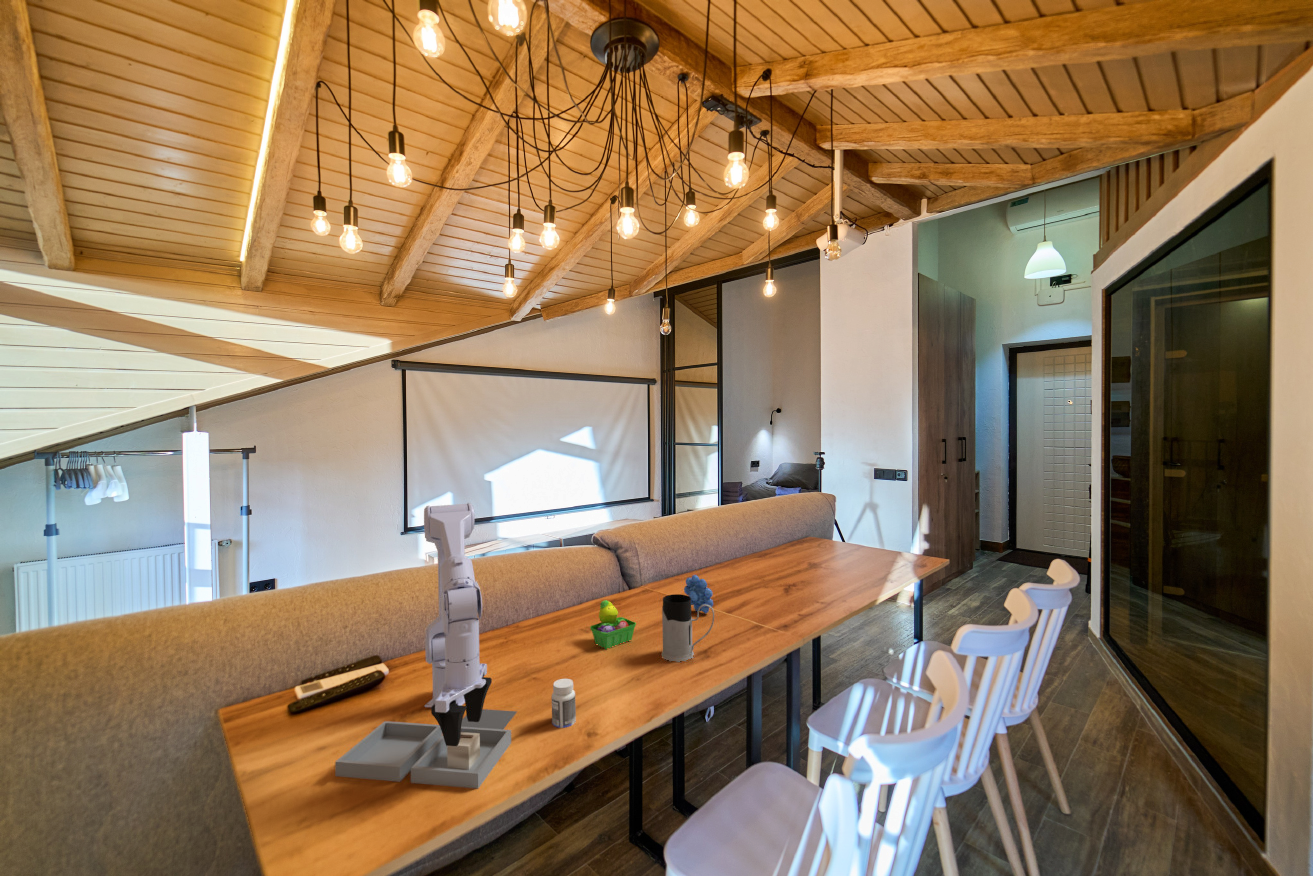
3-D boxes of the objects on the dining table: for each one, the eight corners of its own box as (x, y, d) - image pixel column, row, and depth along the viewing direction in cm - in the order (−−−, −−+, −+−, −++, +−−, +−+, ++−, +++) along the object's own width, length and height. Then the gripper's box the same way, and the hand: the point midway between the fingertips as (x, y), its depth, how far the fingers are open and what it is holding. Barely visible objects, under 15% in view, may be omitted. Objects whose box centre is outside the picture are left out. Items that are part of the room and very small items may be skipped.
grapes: (676, 611, 175) (676, 575, 175) (689, 606, 180) (688, 571, 180) (704, 619, 167) (704, 581, 167) (717, 614, 172) (716, 577, 172)
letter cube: (459, 753, 96) (458, 731, 96) (479, 755, 96) (479, 732, 96) (447, 767, 93) (447, 743, 93) (469, 769, 92) (468, 745, 92)
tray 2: (451, 741, 102) (451, 725, 102) (511, 746, 100) (511, 730, 100) (410, 786, 89) (410, 768, 89) (478, 792, 87) (478, 773, 87)
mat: (472, 711, 113) (472, 708, 113) (517, 714, 111) (517, 711, 111) (447, 738, 103) (447, 734, 103) (496, 741, 101) (496, 738, 101)
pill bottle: (577, 717, 110) (576, 677, 110) (574, 730, 105) (573, 688, 105) (554, 718, 109) (553, 677, 109) (550, 731, 105) (549, 688, 105)
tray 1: (385, 736, 104) (384, 721, 104) (442, 740, 102) (441, 725, 102) (335, 779, 91) (335, 761, 91) (399, 785, 89) (399, 767, 89)
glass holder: (664, 647, 145) (663, 592, 145) (716, 651, 142) (715, 595, 142) (658, 660, 137) (657, 602, 137) (713, 665, 134) (712, 605, 134)
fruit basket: (605, 652, 143) (604, 610, 143) (586, 643, 149) (586, 603, 149) (637, 641, 150) (637, 601, 150) (618, 632, 157) (618, 594, 157)
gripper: (462, 675, 86) (464, 758, 86) (501, 641, 101) (502, 712, 101) (422, 673, 87) (424, 755, 87) (466, 639, 102) (467, 710, 102)
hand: (463, 732), depth 94 cm, fingers open, 7 cm apart
